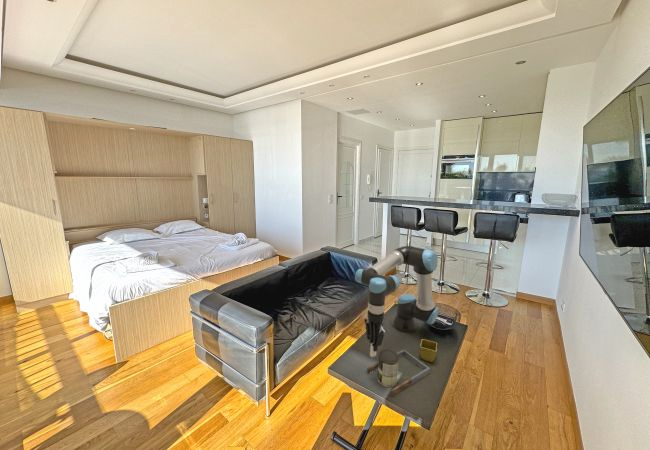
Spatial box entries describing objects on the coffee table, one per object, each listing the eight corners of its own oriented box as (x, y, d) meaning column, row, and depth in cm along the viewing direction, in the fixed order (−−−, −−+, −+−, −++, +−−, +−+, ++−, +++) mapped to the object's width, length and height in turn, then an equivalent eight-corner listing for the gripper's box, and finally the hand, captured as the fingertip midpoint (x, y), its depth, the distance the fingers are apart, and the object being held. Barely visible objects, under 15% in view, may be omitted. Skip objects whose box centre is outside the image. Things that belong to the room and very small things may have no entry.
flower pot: (420, 351, 157) (421, 338, 155) (435, 356, 153) (437, 342, 152) (418, 360, 149) (419, 346, 148) (434, 365, 146) (436, 351, 144)
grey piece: (403, 353, 155) (403, 349, 154) (429, 373, 140) (430, 368, 140) (385, 363, 147) (385, 358, 146) (411, 384, 132) (411, 379, 132)
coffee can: (373, 378, 136) (374, 355, 133) (384, 369, 142) (385, 346, 140) (390, 390, 128) (391, 366, 125) (401, 380, 135) (403, 356, 132)
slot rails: (385, 363, 147) (385, 358, 146) (411, 384, 132) (411, 379, 132) (366, 372, 140) (367, 368, 139) (391, 396, 125) (392, 391, 124)
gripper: (360, 306, 125) (358, 350, 129) (379, 319, 114) (376, 366, 118) (372, 303, 129) (369, 345, 133) (391, 315, 118) (388, 360, 122)
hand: (373, 355), depth 126 cm, fingers closed
